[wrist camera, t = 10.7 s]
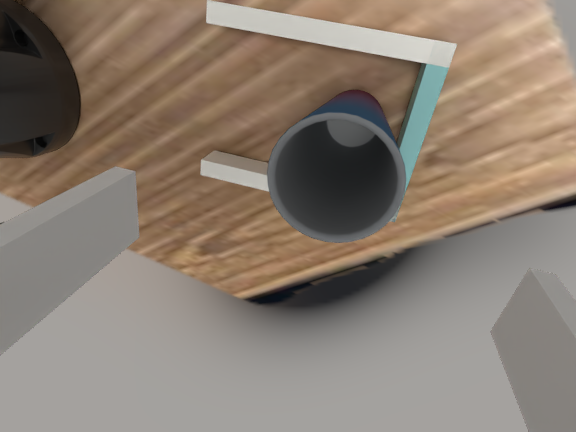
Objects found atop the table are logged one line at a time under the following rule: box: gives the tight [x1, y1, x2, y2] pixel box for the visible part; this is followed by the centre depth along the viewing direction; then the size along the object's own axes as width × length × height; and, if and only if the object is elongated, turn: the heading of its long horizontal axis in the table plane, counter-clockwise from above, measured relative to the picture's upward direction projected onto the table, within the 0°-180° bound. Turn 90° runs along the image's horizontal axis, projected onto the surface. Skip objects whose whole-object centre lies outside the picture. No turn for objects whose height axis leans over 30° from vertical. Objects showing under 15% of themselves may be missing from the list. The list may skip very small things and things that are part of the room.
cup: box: [267, 90, 406, 243], centre depth 24 cm, size 7×7×15 cm
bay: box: [201, 0, 457, 222], centre depth 29 cm, size 18×14×3 cm
